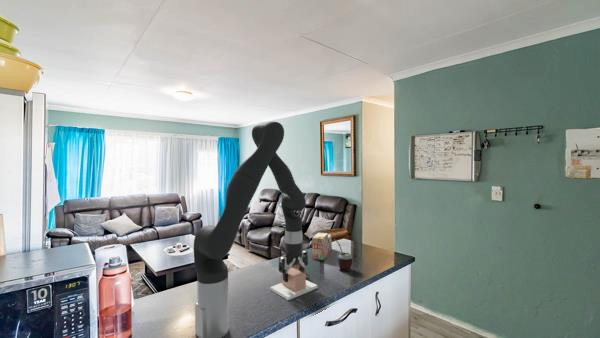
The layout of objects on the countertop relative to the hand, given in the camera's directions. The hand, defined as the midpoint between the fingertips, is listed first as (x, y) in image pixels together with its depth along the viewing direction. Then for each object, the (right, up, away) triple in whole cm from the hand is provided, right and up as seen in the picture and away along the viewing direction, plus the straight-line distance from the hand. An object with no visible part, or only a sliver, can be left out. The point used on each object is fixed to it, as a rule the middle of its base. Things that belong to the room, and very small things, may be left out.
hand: (293, 278), depth 114 cm
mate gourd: (+25, -4, +20) cm, 32 cm away
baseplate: (0, -4, 0) cm, 4 cm away
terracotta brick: (0, -3, 0) cm, 3 cm away
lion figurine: (-1, -5, +14) cm, 15 cm away
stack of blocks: (+16, -4, +46) cm, 49 cm away
